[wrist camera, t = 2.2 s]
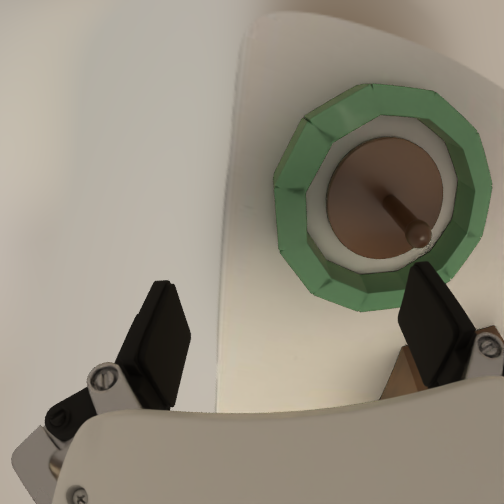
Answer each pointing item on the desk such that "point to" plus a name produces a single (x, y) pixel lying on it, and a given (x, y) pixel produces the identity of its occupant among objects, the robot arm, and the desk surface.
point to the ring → (314, 152)
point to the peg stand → (384, 198)
